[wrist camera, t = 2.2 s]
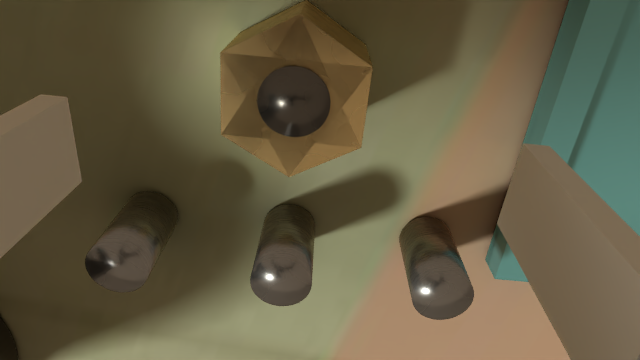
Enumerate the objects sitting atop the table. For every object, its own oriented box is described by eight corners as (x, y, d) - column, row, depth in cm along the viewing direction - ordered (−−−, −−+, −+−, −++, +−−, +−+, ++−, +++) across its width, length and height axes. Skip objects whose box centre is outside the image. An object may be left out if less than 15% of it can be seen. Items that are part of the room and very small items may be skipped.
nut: (239, 133, 24) (221, 171, 20) (241, -8, 21) (219, 5, 17) (352, 143, 24) (355, 184, 20) (370, 6, 21) (379, 22, 17)
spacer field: (129, 232, 27) (89, 289, 23) (73, -220, 18) (-13, -274, 13) (444, 261, 28) (465, 321, 23) (560, -166, 18) (634, -201, 14)
